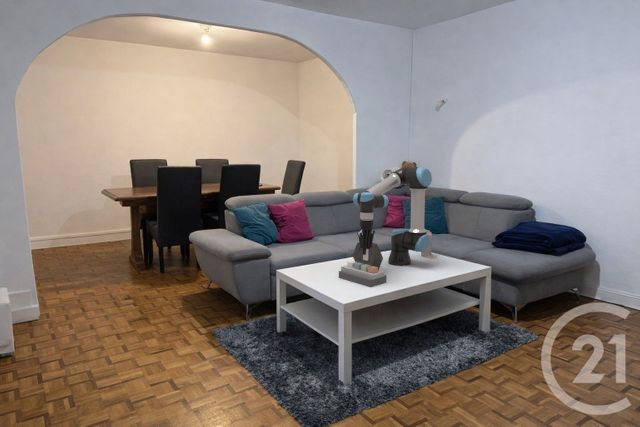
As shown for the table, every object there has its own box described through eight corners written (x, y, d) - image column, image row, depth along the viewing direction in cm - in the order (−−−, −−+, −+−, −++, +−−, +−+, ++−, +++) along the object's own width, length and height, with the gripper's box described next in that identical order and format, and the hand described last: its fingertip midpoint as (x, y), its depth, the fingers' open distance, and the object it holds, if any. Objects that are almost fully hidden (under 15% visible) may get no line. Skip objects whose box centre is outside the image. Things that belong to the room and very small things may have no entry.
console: (354, 273, 279) (354, 263, 278) (386, 282, 260) (386, 271, 259) (338, 277, 269) (338, 267, 268) (370, 287, 251) (370, 275, 250)
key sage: (365, 269, 265) (365, 264, 264) (370, 270, 262) (370, 265, 261) (360, 270, 262) (361, 265, 262) (366, 271, 259) (366, 266, 259)
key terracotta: (372, 271, 261) (372, 265, 260) (377, 272, 258) (378, 267, 257) (368, 272, 258) (368, 267, 258) (373, 273, 255) (373, 268, 255)
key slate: (358, 267, 269) (358, 262, 268) (363, 268, 266) (363, 263, 265) (354, 268, 266) (354, 263, 266) (359, 269, 263) (359, 264, 263)
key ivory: (352, 265, 273) (352, 260, 272) (356, 266, 270) (356, 261, 269) (347, 266, 270) (347, 261, 270) (352, 268, 267) (352, 263, 267)
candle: (435, 259, 314) (436, 231, 311) (419, 256, 324) (420, 228, 321) (441, 257, 318) (442, 230, 316) (424, 254, 329) (425, 227, 326)
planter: (386, 266, 278) (373, 235, 284) (377, 268, 273) (365, 237, 279) (369, 275, 290) (358, 246, 296) (361, 278, 285) (349, 248, 291)
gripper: (369, 217, 265) (368, 257, 268) (353, 219, 256) (353, 260, 259) (379, 219, 259) (377, 259, 262) (363, 221, 251) (362, 262, 254)
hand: (365, 259), depth 261 cm, fingers closed
